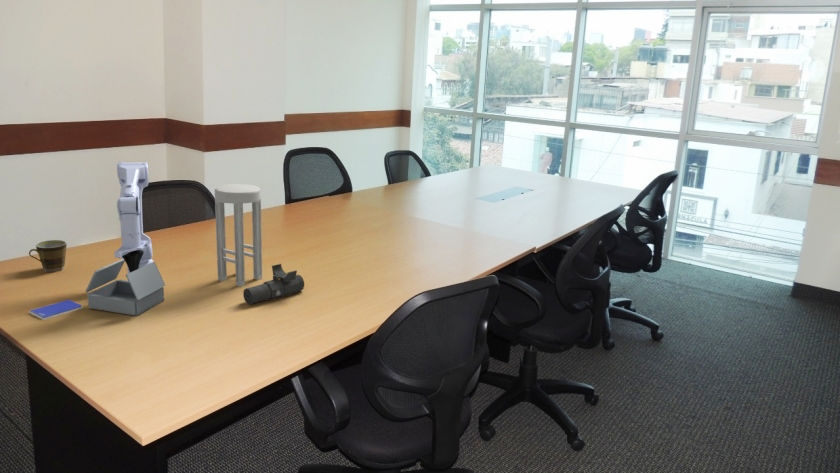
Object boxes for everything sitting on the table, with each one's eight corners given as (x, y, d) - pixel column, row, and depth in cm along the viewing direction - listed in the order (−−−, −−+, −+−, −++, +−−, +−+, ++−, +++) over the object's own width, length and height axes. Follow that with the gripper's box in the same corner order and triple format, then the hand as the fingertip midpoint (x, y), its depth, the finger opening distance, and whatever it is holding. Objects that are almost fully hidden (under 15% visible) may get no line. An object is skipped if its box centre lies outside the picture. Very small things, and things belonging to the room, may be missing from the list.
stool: (240, 289, 232) (237, 194, 223) (209, 280, 240) (205, 188, 230) (270, 278, 245) (268, 187, 236) (240, 269, 253) (237, 181, 243)
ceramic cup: (61, 263, 249) (58, 238, 247) (74, 269, 244) (71, 243, 241) (25, 271, 239) (22, 245, 237) (38, 277, 234) (35, 251, 231)
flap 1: (116, 278, 222) (114, 277, 222) (125, 259, 219) (124, 258, 219) (86, 292, 209) (85, 291, 209) (96, 271, 205) (95, 270, 206)
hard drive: (42, 316, 200) (82, 305, 210) (29, 310, 204) (68, 299, 214) (43, 321, 200) (82, 309, 210) (29, 314, 204) (68, 303, 214)
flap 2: (153, 261, 216) (154, 261, 216) (164, 285, 218) (165, 285, 217) (125, 274, 203) (126, 274, 203) (137, 300, 205) (138, 299, 204)
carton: (119, 292, 224) (118, 279, 222) (165, 299, 220) (164, 286, 218) (87, 308, 209) (86, 294, 208) (136, 316, 205) (135, 302, 204)
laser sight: (240, 300, 223) (239, 273, 220) (293, 286, 239) (293, 260, 236) (256, 309, 217) (255, 281, 214) (309, 293, 233) (310, 267, 230)
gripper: (126, 240, 203) (129, 280, 207) (155, 228, 216) (157, 267, 220) (107, 237, 204) (110, 278, 208) (137, 226, 218) (139, 264, 222)
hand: (133, 272), depth 214 cm, fingers closed
